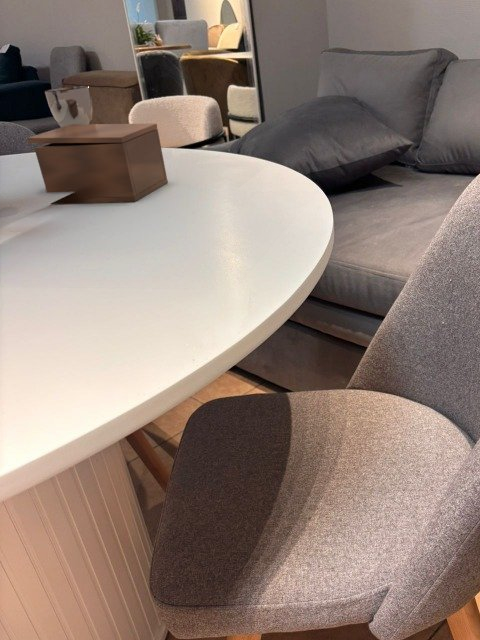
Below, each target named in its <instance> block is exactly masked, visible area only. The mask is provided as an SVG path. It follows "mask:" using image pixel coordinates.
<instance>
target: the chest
mask: <svg viewBox="0 0 480 640" xmlns="http://www.w3.org/2000/svg"><path fill="white" fill-rule="evenodd" d="M33 149H34V152H35V155H36V160H37V162H38V166H39V169H40V173H41V177H42V180H43V183H44V187H45V190H46V193H47V194H48V193H69V194H67V195H65V196H63V197H61V198H59V199H56V200H54V201H52V202H50V205H66V204H67V205H68V204H69V205H70V204H71V205H73V204H103V203H104V204H105V203H107V204H108V203H111V204H112V203H136V202H138V201H139V200H141V199H143V198H145V197H147V196H148V195H150V194H152V192H155V191H156V190H158V189H160V188H161V187H163V186H164V185H166V184H168V183H169V181H168V176H167V170H166V166H165V160H164V155H163V150H162V145H161V140H160V134H159V129H158V128H157V129H155V130H152V131H150V132H147V133H145V134H143V135H140V136H138V137H135V138H133V139H130V140H128V141H125V142H123V143H44V144H42V145H39V146H36V147H34V148H33Z"/></svg>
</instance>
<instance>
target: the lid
mask: <svg viewBox="0 0 480 640" xmlns="http://www.w3.org/2000/svg"><path fill="white" fill-rule="evenodd" d="M155 129H158V124H157V123H90V124H71V125H67V126H64V127H61V126H60V127H58V128H54V129H51V130H49V131H44V132H41V133H39V134H38V133H37V134H36V135H32V136H29V137H27V143H28V144H48V143H123V142H125V141H128V140H130V139H133V138H135V137H138V136H140V135H143V134H145V133H147V132H150V131H152V130H155Z"/></svg>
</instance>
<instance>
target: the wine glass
mask: <svg viewBox="0 0 480 640" xmlns="http://www.w3.org/2000/svg"><path fill="white" fill-rule="evenodd" d="M44 94H45V98H46V100H47V101H46V102H47V104H48V107H49V109H50V112H51V115H52V116H53V118H54V121H55V122H56V123H57V125H58V126H59V127H60V128H61V127H64V126H67V125H71V124H92V121H93V115H94V114H93V100H92V96H91V95H92V94H91V91H90V87H89V86H88V85H77V86H66V87H59V88H54V89H48V90H44Z"/></svg>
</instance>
